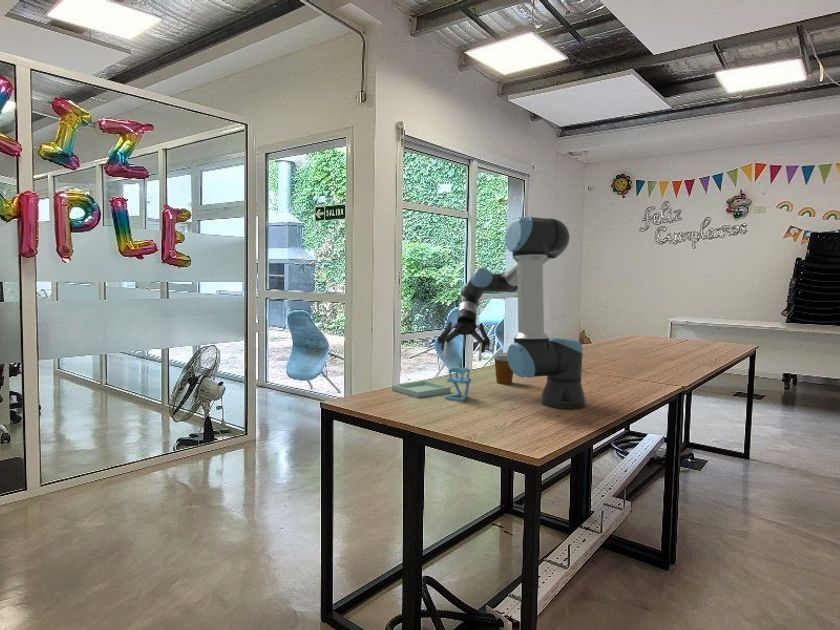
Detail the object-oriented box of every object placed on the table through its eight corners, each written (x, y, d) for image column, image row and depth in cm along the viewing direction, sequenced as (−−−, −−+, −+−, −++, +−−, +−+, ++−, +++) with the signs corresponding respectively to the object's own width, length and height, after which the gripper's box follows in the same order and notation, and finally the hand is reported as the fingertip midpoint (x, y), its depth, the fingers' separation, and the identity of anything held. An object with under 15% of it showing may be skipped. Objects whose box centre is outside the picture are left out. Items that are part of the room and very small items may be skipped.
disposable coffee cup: (490, 380, 236) (491, 352, 235) (512, 380, 237) (513, 352, 236) (495, 385, 226) (496, 356, 225) (518, 384, 227) (519, 356, 226)
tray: (424, 385, 224) (424, 380, 223) (450, 392, 211) (450, 386, 211) (391, 390, 214) (391, 384, 213) (417, 397, 201) (417, 392, 201)
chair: (473, 397, 203) (474, 365, 202) (463, 401, 196) (464, 368, 195) (454, 395, 207) (455, 363, 206) (444, 399, 200) (444, 366, 199)
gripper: (498, 322, 224) (495, 365, 210) (437, 320, 229) (430, 362, 215) (498, 310, 218) (494, 353, 205) (435, 308, 223) (428, 350, 210)
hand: (461, 357), depth 210 cm, fingers open, 13 cm apart
